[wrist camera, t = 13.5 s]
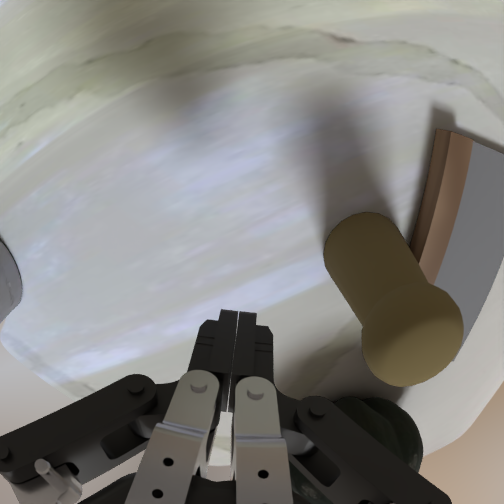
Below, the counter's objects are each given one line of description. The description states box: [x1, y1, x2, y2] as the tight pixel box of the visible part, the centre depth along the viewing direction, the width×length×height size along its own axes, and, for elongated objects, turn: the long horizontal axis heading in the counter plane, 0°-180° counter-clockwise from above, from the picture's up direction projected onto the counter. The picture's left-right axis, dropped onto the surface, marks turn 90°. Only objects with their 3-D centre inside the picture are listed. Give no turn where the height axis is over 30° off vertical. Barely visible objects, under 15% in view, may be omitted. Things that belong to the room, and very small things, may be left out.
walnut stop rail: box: [409, 129, 473, 285], centre depth 20 cm, size 2×20×2 cm, turn 175°
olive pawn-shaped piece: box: [323, 212, 464, 387], centre depth 16 cm, size 6×6×11 cm
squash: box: [288, 397, 423, 504], centre depth 24 cm, size 14×15×15 cm
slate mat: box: [434, 141, 504, 361], centre depth 21 cm, size 8×20×1 cm, turn 174°
